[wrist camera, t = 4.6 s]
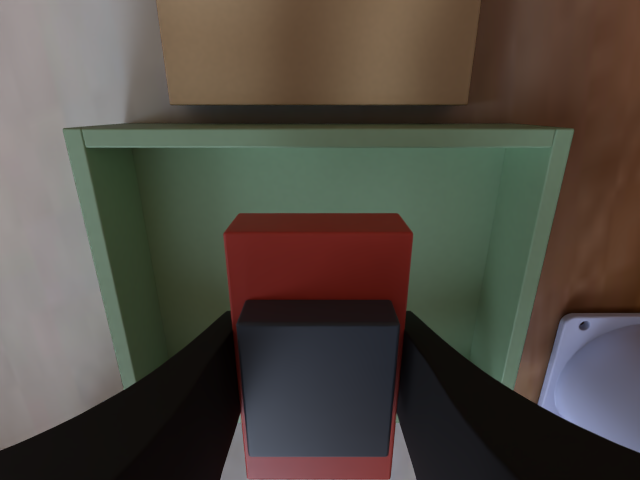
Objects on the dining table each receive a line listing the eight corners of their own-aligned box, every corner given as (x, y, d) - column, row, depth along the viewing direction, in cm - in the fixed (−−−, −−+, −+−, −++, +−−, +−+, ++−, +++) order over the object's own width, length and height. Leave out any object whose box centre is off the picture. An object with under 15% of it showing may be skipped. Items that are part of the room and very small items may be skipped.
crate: (514, 123, 15) (575, 128, 11) (471, 364, 19) (506, 423, 16) (123, 123, 15) (61, 128, 11) (166, 364, 19) (131, 423, 16)
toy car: (394, 206, 10) (428, 250, 7) (379, 419, 13) (398, 519, 10) (242, 206, 10) (207, 250, 7) (258, 419, 13) (238, 518, 10)
